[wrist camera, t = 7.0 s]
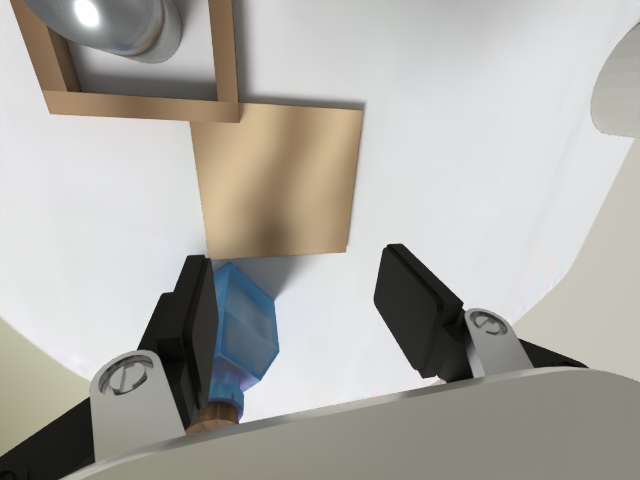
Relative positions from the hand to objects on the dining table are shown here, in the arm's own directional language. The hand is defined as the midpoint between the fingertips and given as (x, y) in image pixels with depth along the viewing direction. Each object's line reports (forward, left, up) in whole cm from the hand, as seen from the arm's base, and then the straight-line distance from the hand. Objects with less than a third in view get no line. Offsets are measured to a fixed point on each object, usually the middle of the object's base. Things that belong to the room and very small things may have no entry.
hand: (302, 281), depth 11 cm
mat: (0, 0, -13) cm, 13 cm away
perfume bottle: (+5, +11, -13) cm, 18 cm away
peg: (+8, -10, -13) cm, 18 cm away
